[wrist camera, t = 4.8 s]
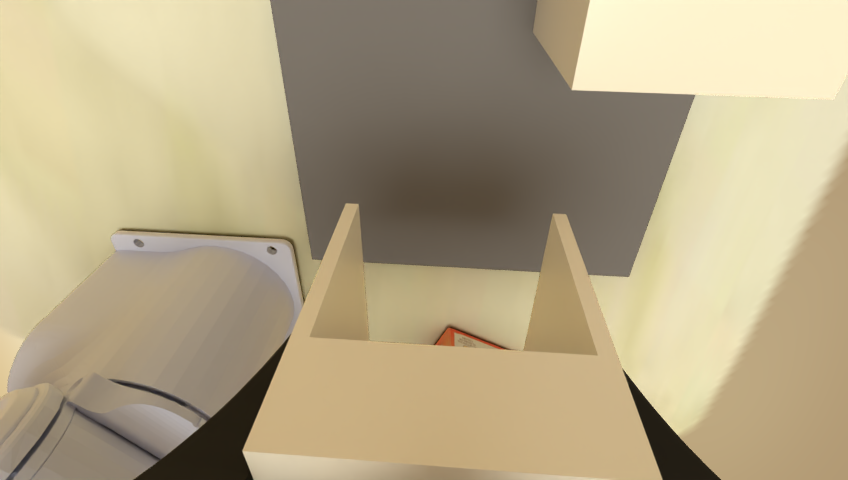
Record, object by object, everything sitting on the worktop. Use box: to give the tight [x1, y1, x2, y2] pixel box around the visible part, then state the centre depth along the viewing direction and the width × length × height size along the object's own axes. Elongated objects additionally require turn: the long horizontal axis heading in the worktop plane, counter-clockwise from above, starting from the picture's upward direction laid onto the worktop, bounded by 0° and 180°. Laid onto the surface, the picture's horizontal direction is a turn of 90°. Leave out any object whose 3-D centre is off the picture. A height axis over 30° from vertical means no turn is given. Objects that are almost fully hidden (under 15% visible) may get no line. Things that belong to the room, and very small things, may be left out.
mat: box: [270, 0, 695, 277], centre depth 17 cm, size 16×20×1 cm
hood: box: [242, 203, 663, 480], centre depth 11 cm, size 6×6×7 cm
